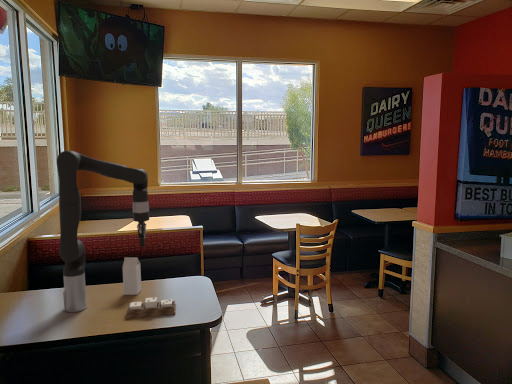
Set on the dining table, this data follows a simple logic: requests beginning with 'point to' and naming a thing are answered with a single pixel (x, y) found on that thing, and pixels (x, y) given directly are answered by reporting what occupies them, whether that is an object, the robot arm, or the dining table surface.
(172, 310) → the brown tile tray
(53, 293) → the dining table surface
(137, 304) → the tile one
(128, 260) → the milk carton
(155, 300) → the tile two
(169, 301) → the tile three
